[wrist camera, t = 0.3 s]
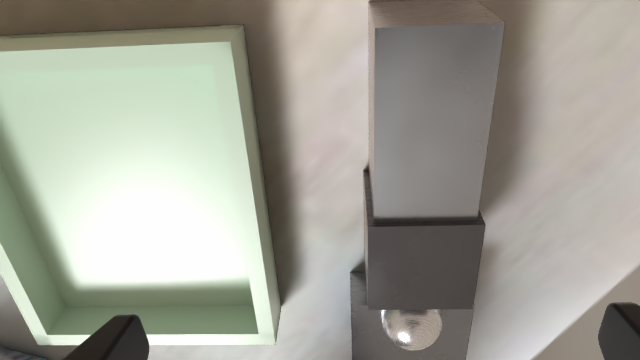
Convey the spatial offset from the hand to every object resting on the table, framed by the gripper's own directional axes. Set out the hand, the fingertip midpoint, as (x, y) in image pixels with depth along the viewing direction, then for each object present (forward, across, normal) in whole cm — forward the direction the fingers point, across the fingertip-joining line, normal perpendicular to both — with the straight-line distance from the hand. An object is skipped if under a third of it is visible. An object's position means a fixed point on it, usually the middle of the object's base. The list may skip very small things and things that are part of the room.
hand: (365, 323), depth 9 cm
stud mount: (+13, -2, +12) cm, 18 cm away
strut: (+13, -3, +2) cm, 13 cm away
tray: (+13, +11, +5) cm, 18 cm away
